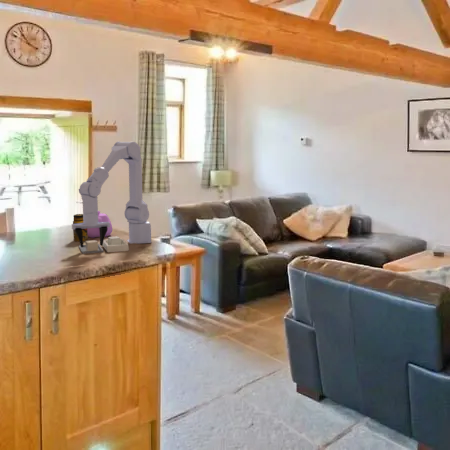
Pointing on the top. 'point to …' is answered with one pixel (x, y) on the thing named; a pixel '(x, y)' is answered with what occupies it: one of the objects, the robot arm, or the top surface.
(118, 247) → the cream dish
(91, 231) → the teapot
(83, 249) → the slate tray
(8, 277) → the top surface
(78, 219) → the condiment
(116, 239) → the light gray cube
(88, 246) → the beige cube
